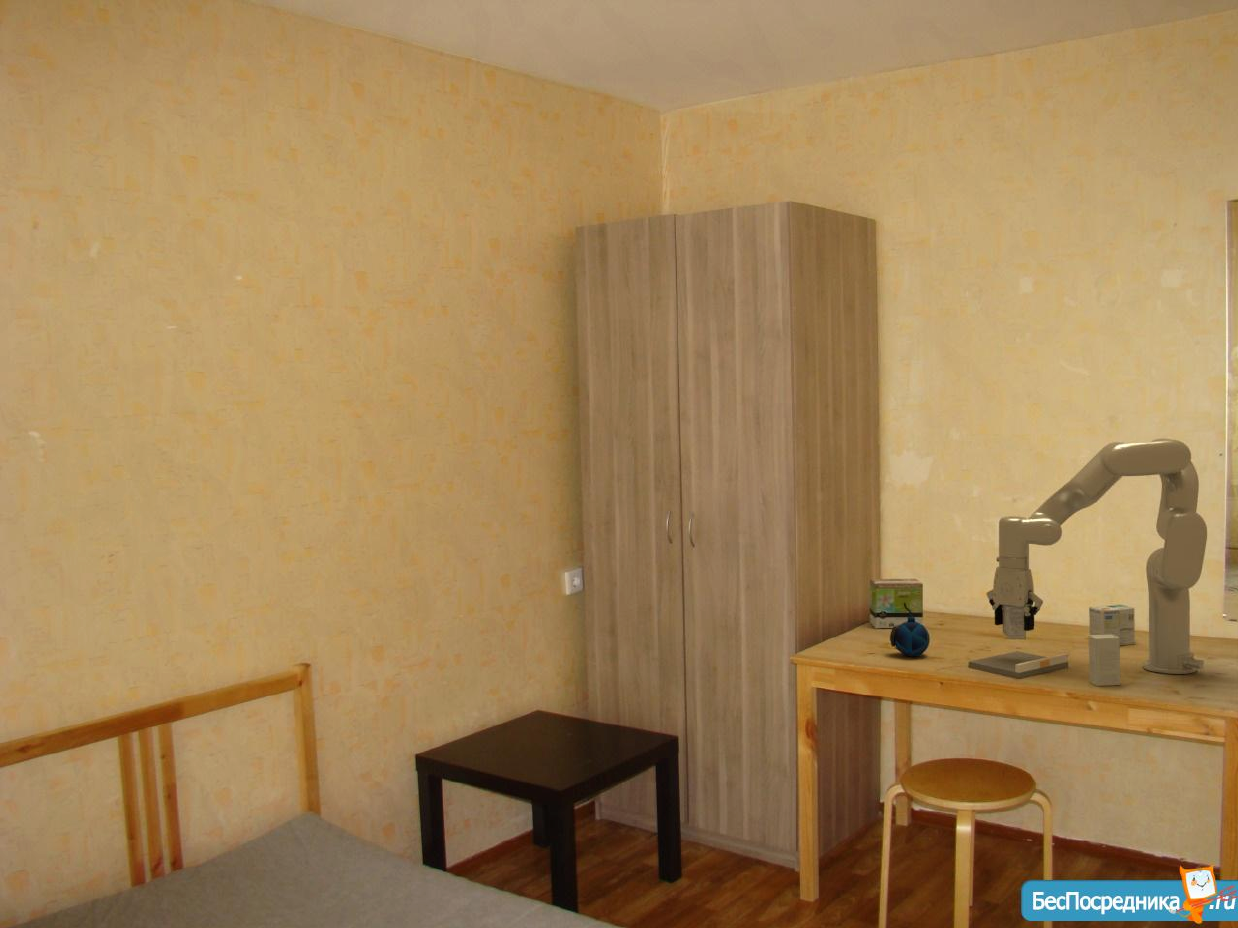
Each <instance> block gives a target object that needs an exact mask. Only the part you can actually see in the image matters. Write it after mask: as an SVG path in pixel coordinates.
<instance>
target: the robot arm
mask: <svg viewBox="0 0 1238 928" xmlns="http://www.w3.org/2000/svg"><path fill="white" fill-rule="evenodd" d="M1155 475H1156V476H1157V475H1158V476H1159V478H1160V482H1161V491H1160V492H1161V493H1160V494H1161V495H1160V501H1159V508H1158V513H1157V518H1156V519H1157V520H1156V523H1155V527H1156V528H1155V529H1156V532H1157V535H1158V536H1159V537H1160V538H1161V539H1162V540H1164V544H1163V547H1160V548H1158V549H1156V550H1154V551H1153V552H1151V554H1149V557H1148V558H1147V559H1146V566H1145V567H1146V568H1145V569H1146V570H1145V572H1146V581H1147V582H1146V583H1147V590H1148V591H1147V593H1148V659H1147V660H1144V661H1142V668H1143V669H1145V670H1147V671H1150V672H1155V673H1159V674H1167V675H1168V674H1169V675H1188V674H1193V673H1196V672H1197V671H1198V669H1199V670H1202V669H1204V664H1205V661H1204V660H1202V659H1195V653H1193V652H1190V651H1191V649H1190V648H1191V644H1190V643H1191V641H1190V638H1191V636H1190V635H1191V630H1190V627H1191V626H1190V624H1191V622H1190V619H1191V617H1190V614H1191V613H1190V612H1191V600H1190V590H1189V589H1191V588H1193V587H1194V586H1195V585H1196V584H1197V583H1198V581H1199V580H1200V577H1201V575H1202V570H1203V566H1204V560H1205V555H1206V554H1205V553H1206V547H1207V541H1208V527H1207V524H1206V521H1205V519H1204V518H1203V517H1202V516H1201V514H1199V513H1197V509H1198V499H1199V492H1200V491H1199V490H1200V489H1199V488H1200V483H1199V476H1198V472H1197V469H1196V467H1195V466H1194V464H1193V461H1192V452H1191V450H1190V448H1189V446H1188V445H1187V444H1185V443H1184V442H1182V441H1181V440H1177V439H1171V438H1162V437H1161V438H1156V439H1153V440H1152V441H1147V442H1145V441H1144V442H1120V441H1116V442H1114V441H1113V442H1111V443H1108V444H1107V445H1104V447H1102V448H1101V449H1100V450H1099V451H1098V452H1097V453H1096V454H1095V455H1094V456H1093V457H1091V459H1090V460H1089V461H1088V462H1087V463H1086V464H1085V465H1084V466H1083V467H1082V468H1081V469H1080V470H1079V471H1078V472H1077V473H1076V474H1075V475H1074V476H1073V477H1072V478H1071V479H1070V480H1069V481H1068V482H1066V483H1065V484H1064V485H1063V486H1062V487H1060V488H1059V489H1058V490H1057V491H1055V492H1054V493H1053V494H1052V495H1050V496H1049V497H1048V498H1047V499H1046V500H1045V501H1044V502H1043V503H1042V504H1041V505H1040V506H1039V507H1038V508H1037V509H1036V510H1035V511H1034V512H1033V513H1032V514H1031V515H1030V516H1029V517H1028V518H1026V517H1024V516H1014V515H1013V516H1004V517H1001V518H1000V519H999V520H998V556H997V557H996V559H995V560H996V562H997V563H998V566H997V567H996V568H995V572H994V577H993V578H994V579H993V587H992V588H993V589H990V590H989V591H987V592H986V597H987V598H988V602H989V604H990V605H991V607H992V610H993V611H994V625H995V626H1001V625H1002V626H1003V612H1002V605H1005V606H1013V607H1017V608H1021V607H1023V610H1024V612H1025V614H1026V616H1024V630H1025V631H1026V632H1029V631H1033V630H1034V629H1035V616H1036V615H1037V614H1038V612H1039V611H1041V607H1042V605H1043V604H1044V600H1043V599H1041V598H1040V597H1039V596H1038V595H1037V594H1035V589H1034V588H1035V587H1034V580H1033V579H1034V578H1033V572H1032V569H1030V545H1038V546H1044V547H1045V546H1048V547H1049V546H1052V545H1055V544H1056V543H1057V542H1059V541H1060V540H1061V538H1062V535H1063V529H1062V527H1061V526H1062V525H1063V524H1064V523H1065V522H1066V521H1067V520H1068V519H1069V518H1071V517H1072V516H1074V514H1075V513H1077V512H1080V511H1081V510H1084V509H1086V508H1089V507H1091V506H1092V505H1094V504H1095V503H1097V502H1098V501H1100V499H1101V498H1102V497H1103V496H1104V495H1105V494H1106V493H1107V492H1108V491H1109V490H1111V488H1112V487H1113V486H1115V485H1116V483H1117V482H1119V480H1121V478H1122V477H1142V476H1146V477H1147V476H1155Z"/></svg>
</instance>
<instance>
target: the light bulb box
mask: <svg viewBox="0 0 1238 928" xmlns="http://www.w3.org/2000/svg"><path fill="white" fill-rule="evenodd" d="M1088 608H1089V609H1088V614H1089V615H1088V616H1089V617H1088V618H1089V635H1109V634H1112V635H1114V636H1117V637H1119V638H1120V646H1127V645H1135V644H1136V643H1135V642H1136V640H1135V639H1136V637H1135V635H1136V633H1135V631H1136V630H1135V625H1136V624H1135V621H1136V620H1135V607H1133V606H1128V605H1124V604H1120V603H1119V604H1110V605H1101V606H1100V605H1099V606H1089V607H1088Z"/></svg>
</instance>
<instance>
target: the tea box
mask: <svg viewBox="0 0 1238 928" xmlns="http://www.w3.org/2000/svg"><path fill="white" fill-rule="evenodd" d="M923 598H924V584H923V583H922V582H921V581H920V580H918V579H916V578H870V579H869V623H870V624H871V625H872V626H873V628H874V629H875V630H876V629H893V627H894V626H896V625H898V626H899V625H900V624H902V623H904V622H907V621H908V617H910V612H909V611H908V610H907V609H905V607H904V603H906V607H907V608H908V609H909V610H910V611H911V612H912V617H914V618H915V622H918V623H920V624H922V625H923V626H924V624H923V623H924V621H923V620H924V617H923V616H924V599H923Z"/></svg>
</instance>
